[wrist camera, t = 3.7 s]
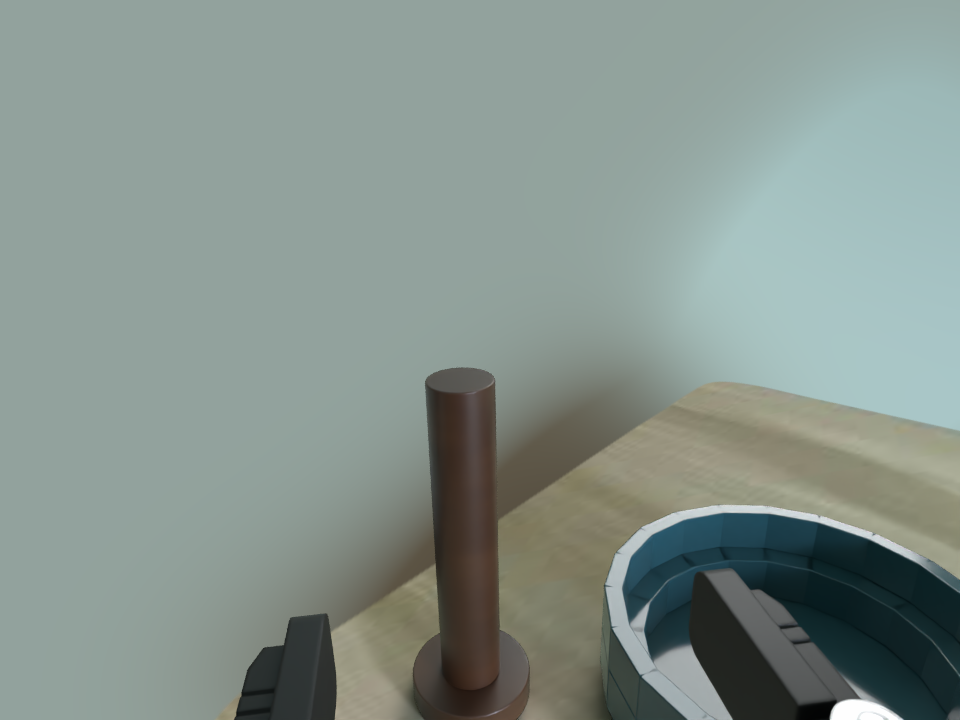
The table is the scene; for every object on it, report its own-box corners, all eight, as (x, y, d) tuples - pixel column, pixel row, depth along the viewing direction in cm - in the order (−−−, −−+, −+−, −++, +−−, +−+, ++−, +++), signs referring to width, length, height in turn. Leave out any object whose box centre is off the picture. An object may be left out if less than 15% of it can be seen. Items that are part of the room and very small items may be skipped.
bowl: (560, 807, 23) (563, 706, 22) (632, 557, 37) (637, 482, 35) (1100, 1010, 18) (1161, 895, 16) (952, 627, 31) (976, 542, 30)
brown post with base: (393, 715, 27) (362, 396, 22) (444, 631, 32) (428, 350, 27) (506, 756, 25) (501, 417, 20) (544, 660, 30) (547, 364, 25)
